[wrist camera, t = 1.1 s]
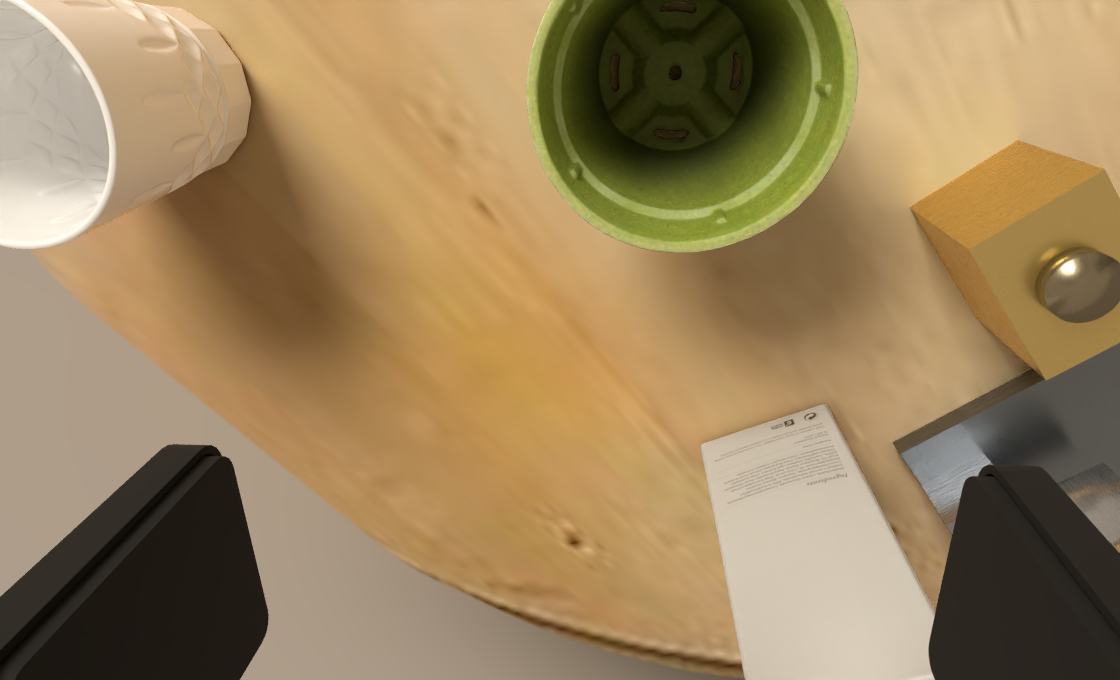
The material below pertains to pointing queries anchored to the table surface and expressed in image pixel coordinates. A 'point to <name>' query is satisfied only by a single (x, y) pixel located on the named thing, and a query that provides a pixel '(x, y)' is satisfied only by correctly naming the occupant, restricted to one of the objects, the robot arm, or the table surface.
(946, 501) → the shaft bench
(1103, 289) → the coupler
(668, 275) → the table surface
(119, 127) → the white cup
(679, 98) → the plant pot
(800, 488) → the skincare box
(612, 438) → the table surface
